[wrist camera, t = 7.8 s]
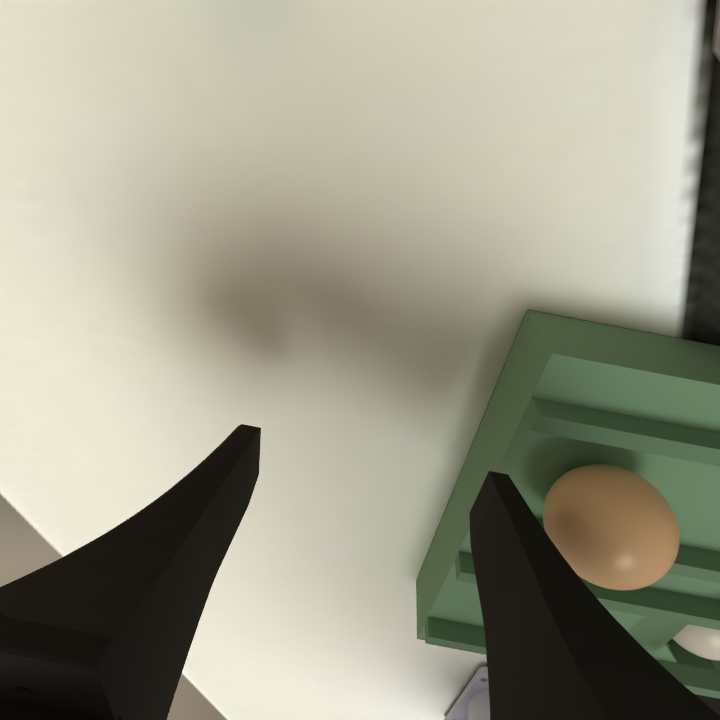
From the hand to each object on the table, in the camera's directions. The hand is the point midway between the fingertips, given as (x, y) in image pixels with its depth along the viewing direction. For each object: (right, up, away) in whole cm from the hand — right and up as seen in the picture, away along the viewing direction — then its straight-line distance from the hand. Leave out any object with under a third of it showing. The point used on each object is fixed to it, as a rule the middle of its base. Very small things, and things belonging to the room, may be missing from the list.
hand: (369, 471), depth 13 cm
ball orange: (+7, -2, 0) cm, 8 cm away
